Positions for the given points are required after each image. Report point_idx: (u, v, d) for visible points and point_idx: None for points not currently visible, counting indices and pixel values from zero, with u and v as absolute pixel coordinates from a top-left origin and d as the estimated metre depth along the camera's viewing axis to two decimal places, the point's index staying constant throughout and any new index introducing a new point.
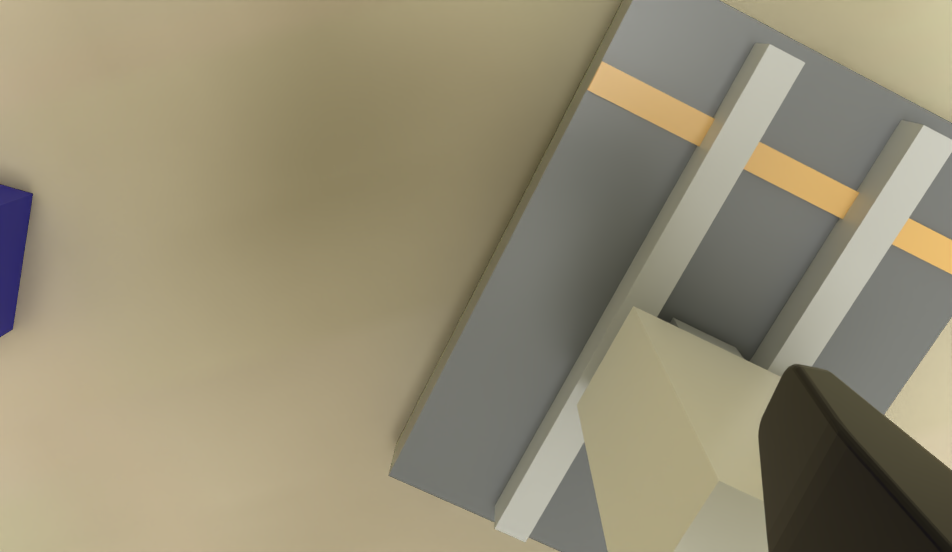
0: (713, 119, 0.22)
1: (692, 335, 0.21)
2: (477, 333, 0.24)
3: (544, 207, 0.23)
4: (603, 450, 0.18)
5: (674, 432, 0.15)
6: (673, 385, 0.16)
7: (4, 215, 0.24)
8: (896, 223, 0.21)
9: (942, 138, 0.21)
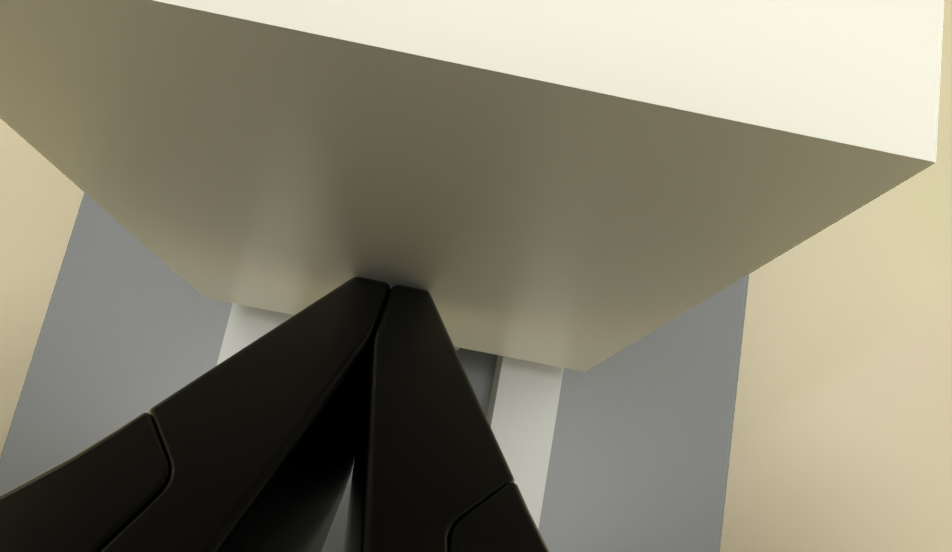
0: None
1: None
2: (61, 346, 0.14)
3: None
4: None
5: None
6: None
7: None
8: None
9: None
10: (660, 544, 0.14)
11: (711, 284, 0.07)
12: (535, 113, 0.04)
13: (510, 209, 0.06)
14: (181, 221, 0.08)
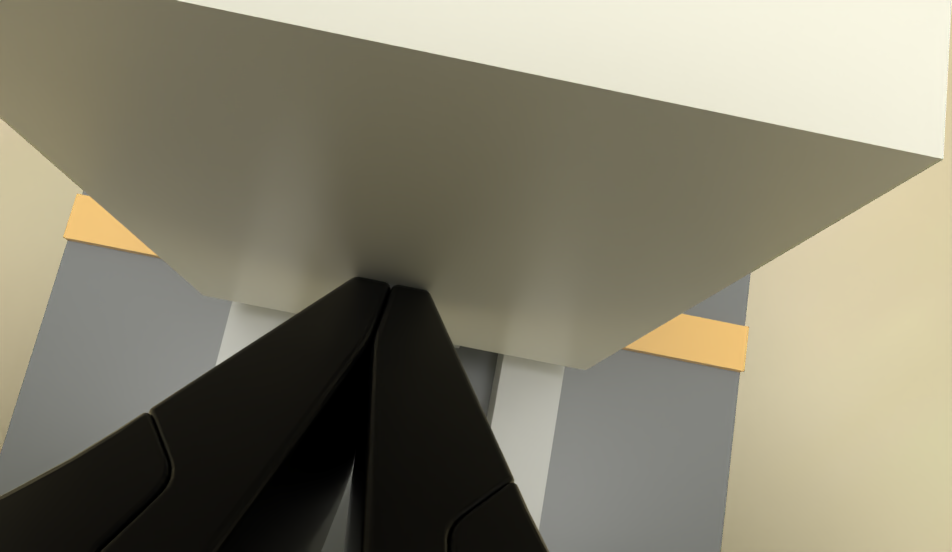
0: None
1: None
2: None
3: (35, 433, 0.14)
4: None
5: None
6: None
7: None
8: None
9: None
10: None
11: (713, 282, 0.07)
12: (535, 109, 0.04)
13: (510, 207, 0.06)
14: (179, 218, 0.08)
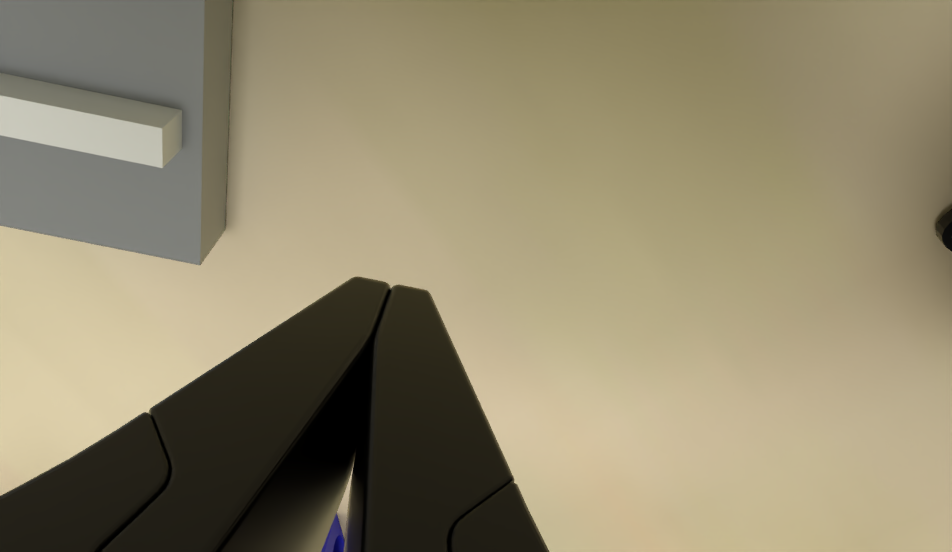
0: None
1: None
2: (1, 212, 0.22)
3: None
4: None
5: None
6: None
7: None
8: None
9: None
10: None
11: None
12: None
13: None
14: None
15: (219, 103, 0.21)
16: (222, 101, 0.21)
